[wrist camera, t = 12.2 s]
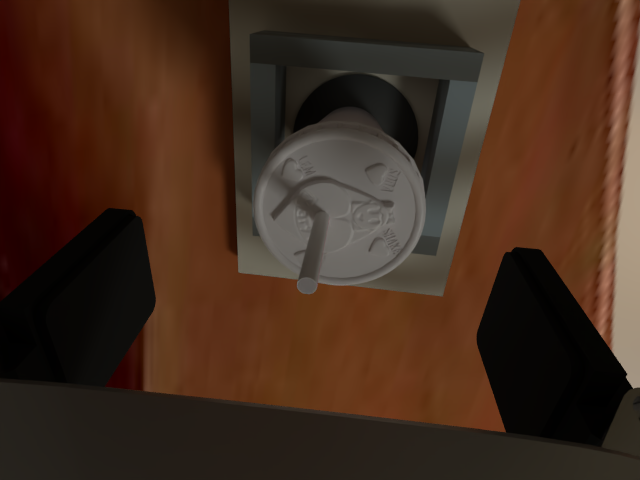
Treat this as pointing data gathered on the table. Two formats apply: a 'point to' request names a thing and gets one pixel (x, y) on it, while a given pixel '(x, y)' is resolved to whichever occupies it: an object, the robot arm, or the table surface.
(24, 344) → the robot arm
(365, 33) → the holder
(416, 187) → the smoothie
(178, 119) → the table surface
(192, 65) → the table surface
